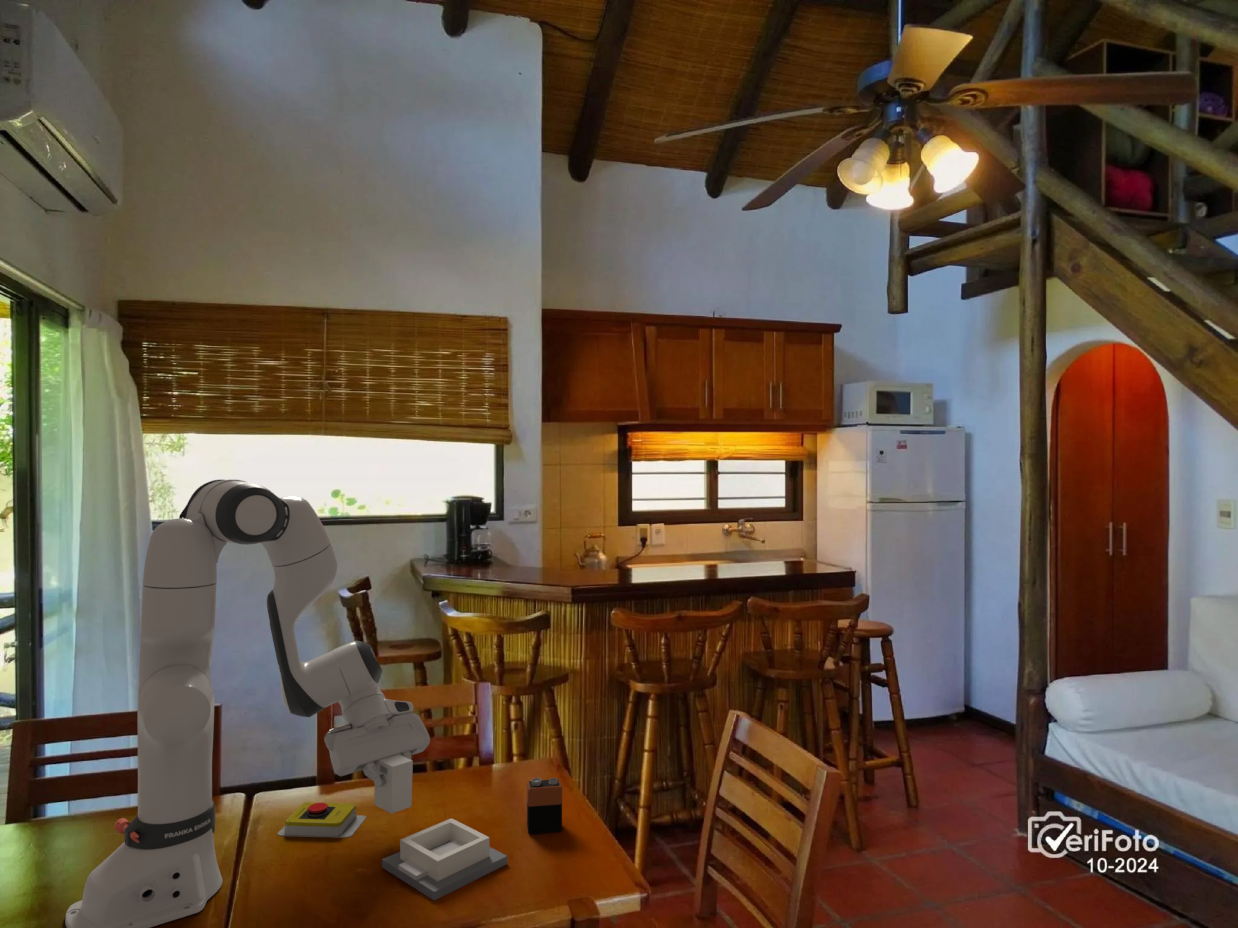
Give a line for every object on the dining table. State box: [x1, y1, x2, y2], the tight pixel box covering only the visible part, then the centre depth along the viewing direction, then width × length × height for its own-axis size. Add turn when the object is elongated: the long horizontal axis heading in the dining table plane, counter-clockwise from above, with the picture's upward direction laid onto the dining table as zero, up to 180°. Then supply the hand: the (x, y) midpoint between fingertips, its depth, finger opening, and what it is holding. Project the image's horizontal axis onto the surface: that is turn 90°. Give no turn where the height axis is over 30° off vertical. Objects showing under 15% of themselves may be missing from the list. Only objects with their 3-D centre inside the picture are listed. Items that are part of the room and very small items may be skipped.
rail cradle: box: [381, 817, 508, 901], centre depth 143 cm, size 16×16×5 cm
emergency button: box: [277, 801, 367, 839], centre depth 159 cm, size 9×4×15 cm
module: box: [373, 754, 414, 815], centre depth 154 cm, size 5×6×9 cm
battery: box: [526, 777, 563, 835], centre depth 158 cm, size 4×7×10 cm, turn 101°
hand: (395, 780), depth 153 cm, fingers closed on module, 4 cm apart
